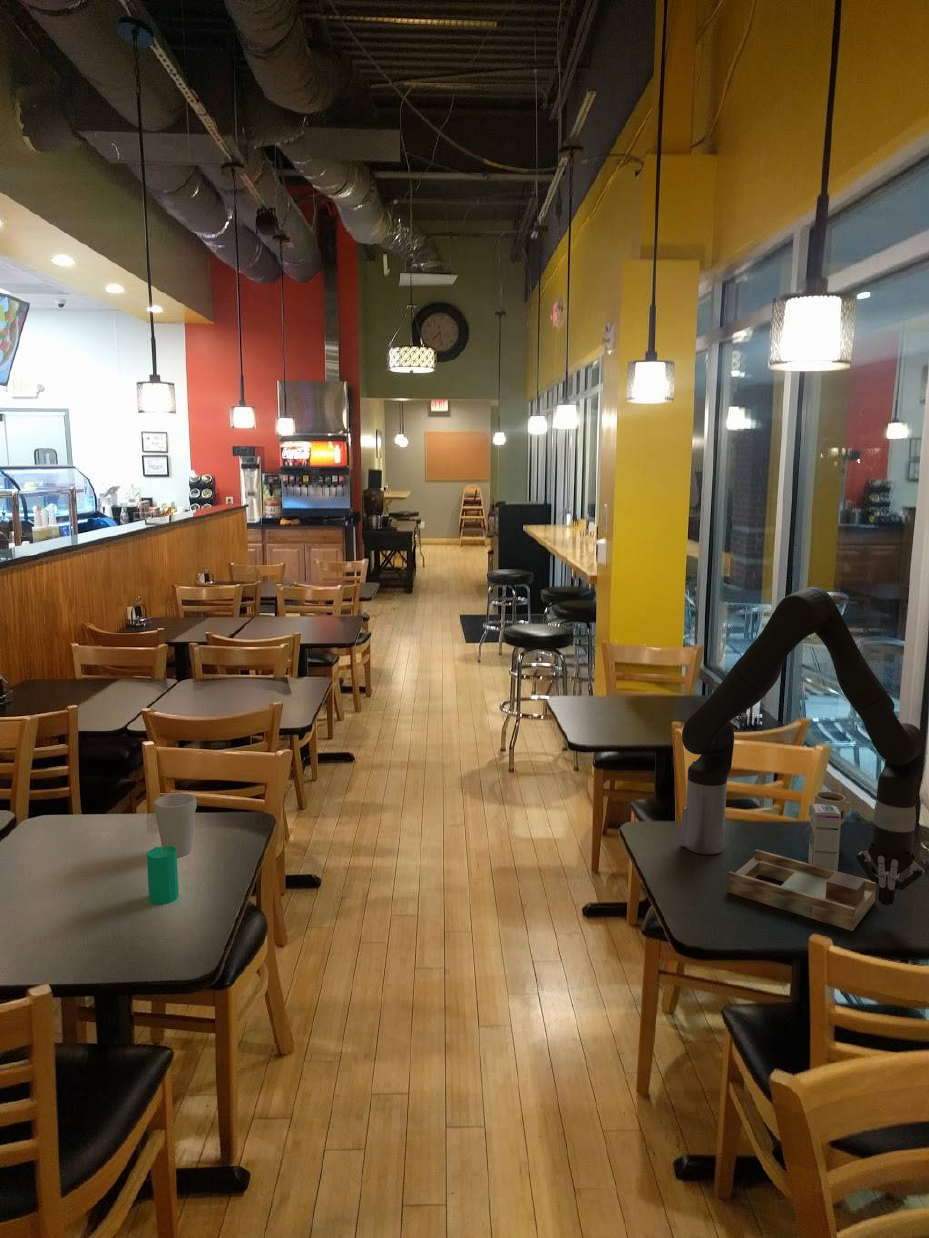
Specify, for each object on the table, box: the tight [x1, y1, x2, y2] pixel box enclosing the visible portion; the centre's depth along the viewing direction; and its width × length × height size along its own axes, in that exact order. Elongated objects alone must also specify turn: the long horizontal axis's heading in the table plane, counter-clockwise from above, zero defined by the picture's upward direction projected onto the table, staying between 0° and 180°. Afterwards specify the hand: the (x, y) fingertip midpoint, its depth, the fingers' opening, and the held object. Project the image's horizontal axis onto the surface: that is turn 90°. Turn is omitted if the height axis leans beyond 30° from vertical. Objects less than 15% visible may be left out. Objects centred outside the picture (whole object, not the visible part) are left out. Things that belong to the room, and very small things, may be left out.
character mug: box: [808, 790, 851, 849], centre depth 215 cm, size 11×7×13 cm, turn 102°
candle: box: [146, 843, 179, 905], centre depth 186 cm, size 6×6×12 cm
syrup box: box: [807, 803, 842, 872], centre depth 203 cm, size 6×6×14 cm
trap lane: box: [726, 849, 877, 932], centre depth 190 cm, size 26×16×4 cm, turn 51°
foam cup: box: [153, 792, 197, 859], centre depth 209 cm, size 10×9×13 cm
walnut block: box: [825, 871, 865, 906], centre depth 184 cm, size 6×6×4 cm
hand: (886, 904), depth 179 cm, fingers closed
